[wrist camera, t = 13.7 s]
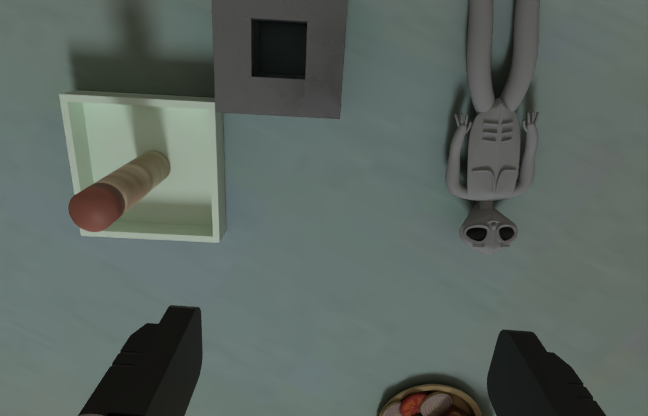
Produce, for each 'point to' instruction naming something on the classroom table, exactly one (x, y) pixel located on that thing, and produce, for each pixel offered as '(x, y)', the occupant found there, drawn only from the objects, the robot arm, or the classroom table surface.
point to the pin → (118, 191)
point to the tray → (145, 135)
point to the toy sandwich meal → (431, 402)
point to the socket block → (272, 88)
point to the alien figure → (495, 128)
